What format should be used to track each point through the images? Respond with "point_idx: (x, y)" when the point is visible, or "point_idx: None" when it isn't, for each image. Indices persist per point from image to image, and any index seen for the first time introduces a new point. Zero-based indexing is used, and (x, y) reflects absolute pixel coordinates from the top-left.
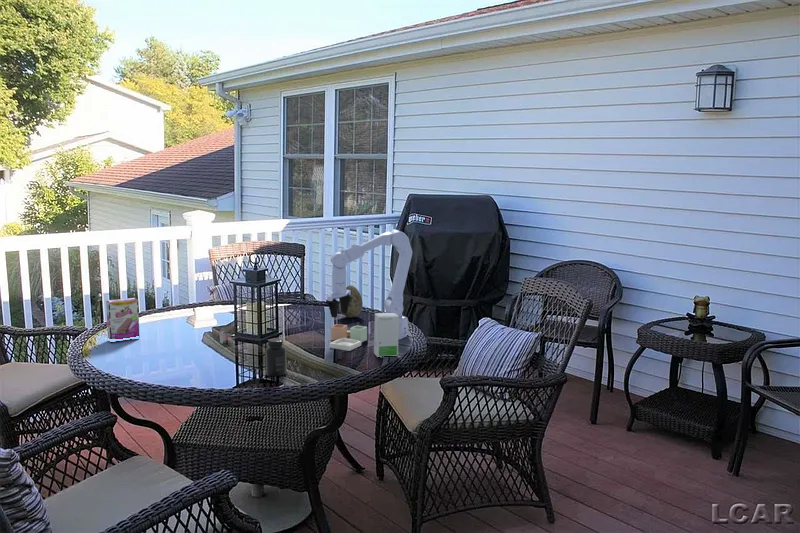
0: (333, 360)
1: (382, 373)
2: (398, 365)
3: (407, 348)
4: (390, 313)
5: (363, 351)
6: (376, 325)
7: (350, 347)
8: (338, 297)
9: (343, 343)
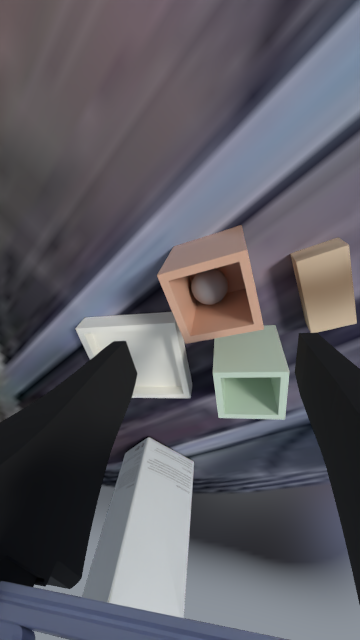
0: (22, 390)
1: None
2: None
3: (247, 473)
4: None
5: (143, 412)
6: (100, 558)
7: None
8: (129, 637)
9: (143, 346)
